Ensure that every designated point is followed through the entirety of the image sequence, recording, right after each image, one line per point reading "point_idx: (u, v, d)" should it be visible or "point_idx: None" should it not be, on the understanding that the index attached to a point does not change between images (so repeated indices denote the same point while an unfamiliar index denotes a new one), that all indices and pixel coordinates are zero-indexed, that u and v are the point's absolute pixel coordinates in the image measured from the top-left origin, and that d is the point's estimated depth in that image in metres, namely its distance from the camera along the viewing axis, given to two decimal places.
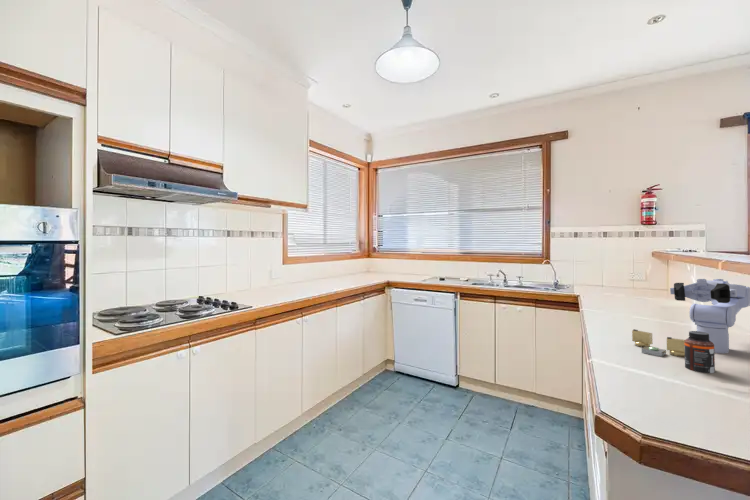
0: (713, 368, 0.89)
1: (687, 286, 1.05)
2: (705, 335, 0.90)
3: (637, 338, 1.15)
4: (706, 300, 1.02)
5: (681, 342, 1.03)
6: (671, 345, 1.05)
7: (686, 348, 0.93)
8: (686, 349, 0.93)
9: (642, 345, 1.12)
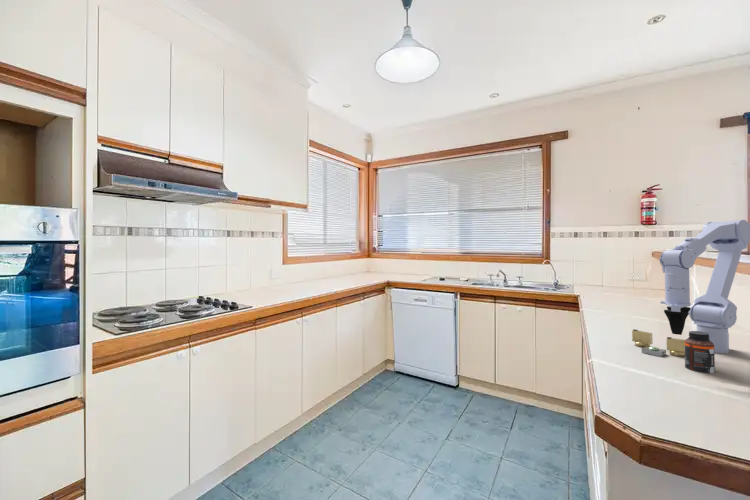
0: (713, 368, 0.89)
1: None
2: (705, 335, 0.90)
3: (637, 338, 1.15)
4: None
5: (681, 342, 1.03)
6: (671, 345, 1.05)
7: (686, 348, 0.93)
8: (686, 349, 0.93)
9: (642, 345, 1.12)
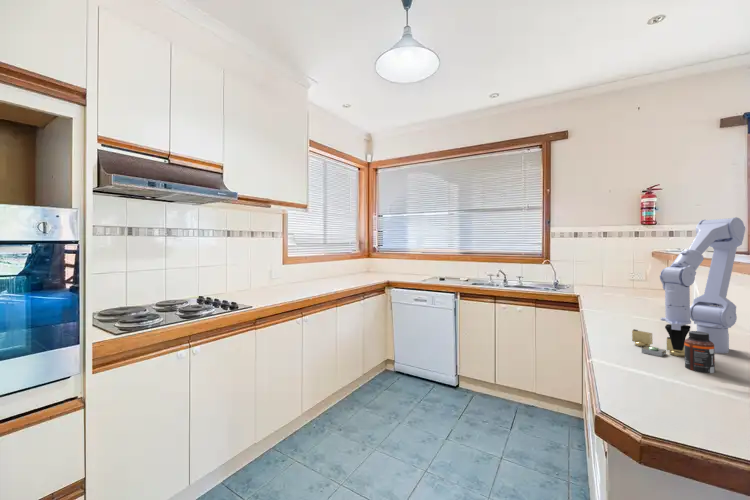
0: (713, 368, 0.89)
1: None
2: (705, 335, 0.90)
3: (637, 338, 1.15)
4: None
5: None
6: (671, 345, 1.05)
7: (686, 348, 0.93)
8: (686, 349, 0.93)
9: (642, 345, 1.12)
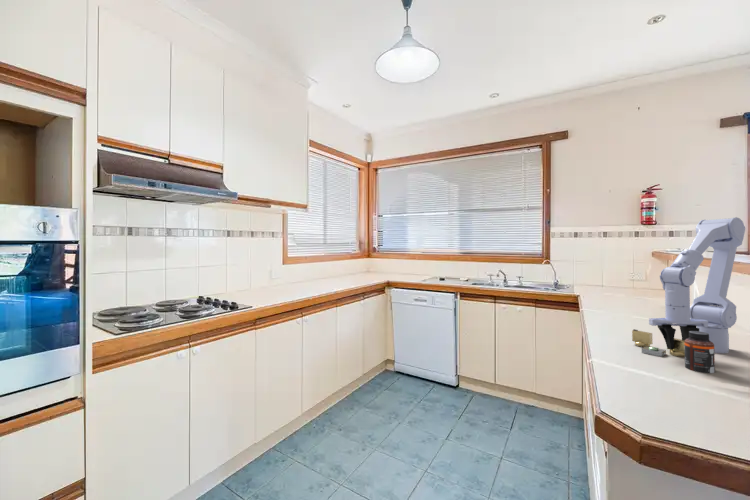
0: (713, 368, 0.89)
1: None
2: (705, 335, 0.90)
3: (637, 338, 1.15)
4: None
5: (679, 342, 1.03)
6: None
7: (686, 348, 0.93)
8: (686, 349, 0.93)
9: (642, 345, 1.12)
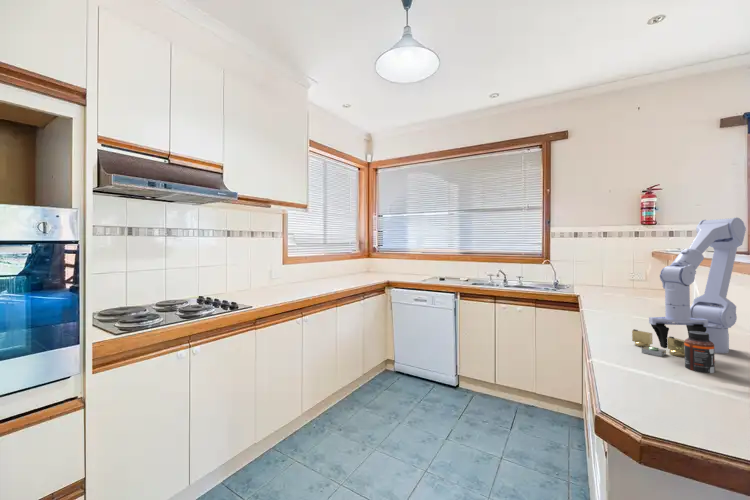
0: (713, 368, 0.89)
1: None
2: (705, 335, 0.90)
3: (637, 338, 1.15)
4: None
5: (678, 342, 1.03)
6: (671, 344, 1.05)
7: (686, 348, 0.93)
8: (686, 349, 0.93)
9: (642, 345, 1.12)
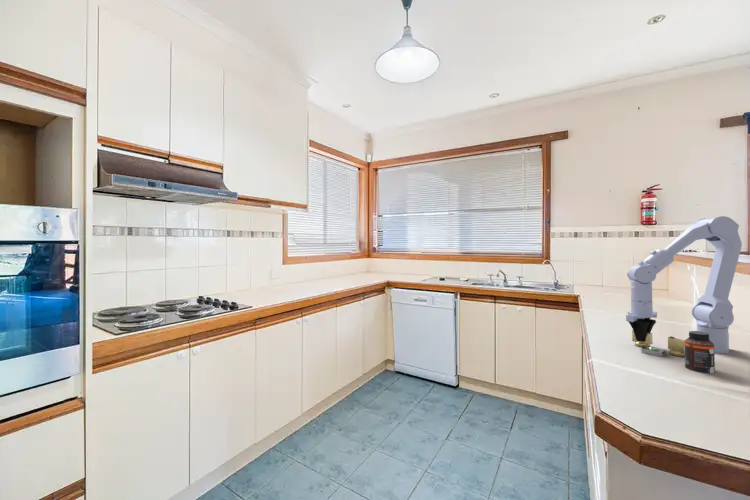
0: (713, 368, 0.89)
1: None
2: (705, 335, 0.90)
3: None
4: None
5: (678, 342, 1.03)
6: (671, 344, 1.05)
7: (686, 348, 0.93)
8: (686, 349, 0.93)
9: (642, 345, 1.12)
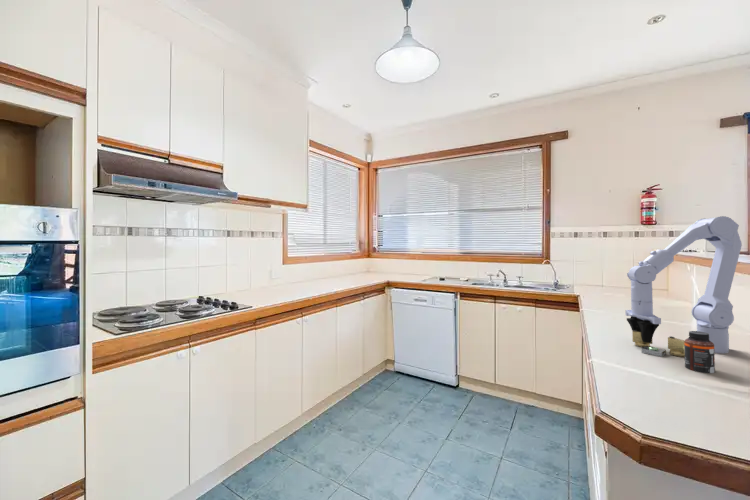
0: (713, 368, 0.89)
1: None
2: (705, 335, 0.90)
3: (638, 338, 1.14)
4: None
5: (678, 342, 1.03)
6: (671, 344, 1.05)
7: (686, 348, 0.93)
8: (686, 349, 0.93)
9: (646, 345, 1.12)
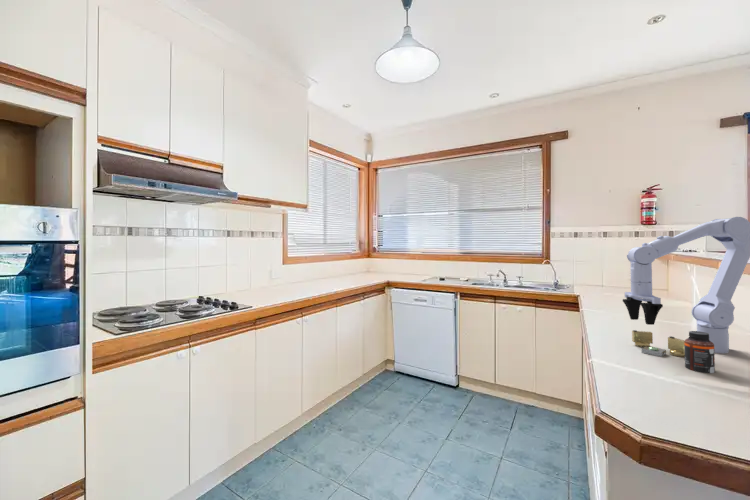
0: (713, 368, 0.89)
1: None
2: (705, 335, 0.90)
3: (639, 338, 1.14)
4: None
5: (678, 342, 1.03)
6: (671, 344, 1.05)
7: (686, 348, 0.93)
8: (686, 349, 0.93)
9: (647, 345, 1.12)
